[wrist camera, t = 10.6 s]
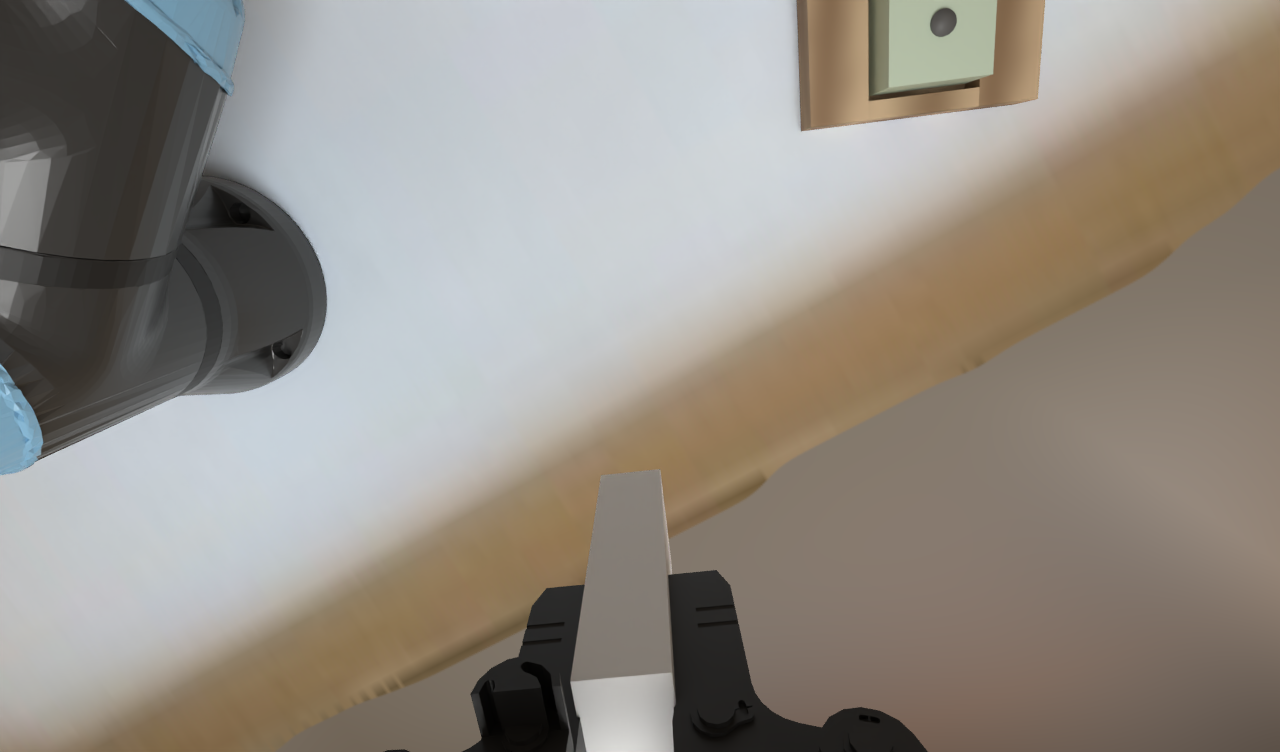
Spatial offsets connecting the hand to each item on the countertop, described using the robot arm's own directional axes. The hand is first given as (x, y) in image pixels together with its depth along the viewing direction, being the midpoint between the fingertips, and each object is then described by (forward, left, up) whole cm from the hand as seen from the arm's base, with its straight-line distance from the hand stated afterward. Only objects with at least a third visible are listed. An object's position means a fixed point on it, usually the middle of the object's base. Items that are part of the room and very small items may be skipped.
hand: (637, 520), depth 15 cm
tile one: (+19, +15, -28) cm, 37 cm away
